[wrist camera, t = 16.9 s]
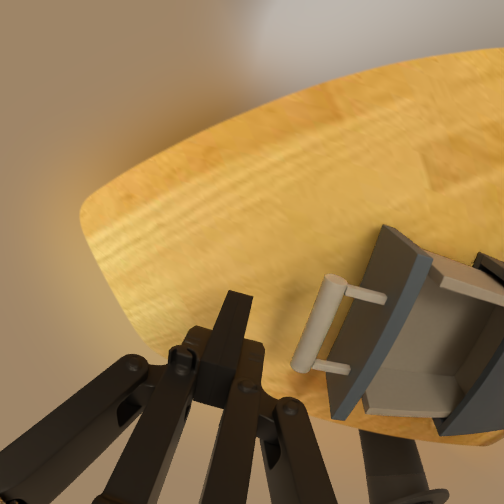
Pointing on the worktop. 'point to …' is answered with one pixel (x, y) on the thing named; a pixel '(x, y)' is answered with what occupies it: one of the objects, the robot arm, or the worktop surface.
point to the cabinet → (480, 384)
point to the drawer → (405, 332)
